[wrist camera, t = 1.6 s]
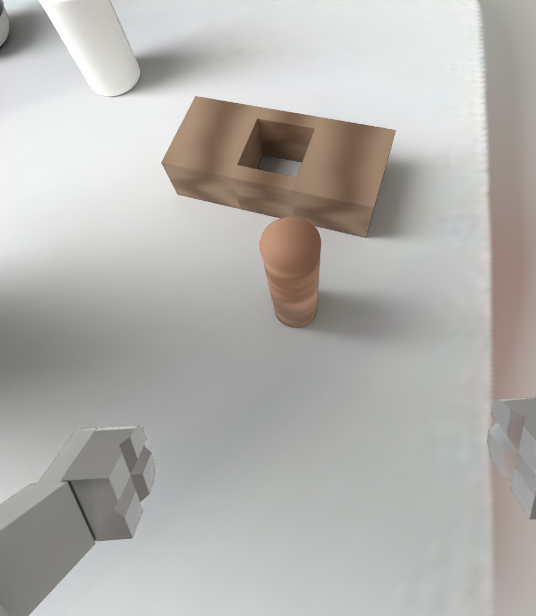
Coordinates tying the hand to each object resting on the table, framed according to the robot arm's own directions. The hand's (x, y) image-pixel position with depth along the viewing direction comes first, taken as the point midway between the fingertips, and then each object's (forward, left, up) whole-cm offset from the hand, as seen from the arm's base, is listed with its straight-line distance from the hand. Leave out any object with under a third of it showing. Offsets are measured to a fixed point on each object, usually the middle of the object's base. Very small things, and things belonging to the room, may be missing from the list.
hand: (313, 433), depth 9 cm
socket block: (-11, +25, -24) cm, 36 cm away
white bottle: (-37, +35, -24) cm, 57 cm away
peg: (-5, +11, -24) cm, 27 cm away
